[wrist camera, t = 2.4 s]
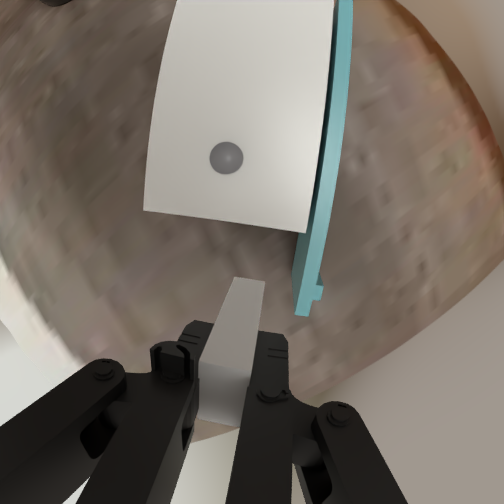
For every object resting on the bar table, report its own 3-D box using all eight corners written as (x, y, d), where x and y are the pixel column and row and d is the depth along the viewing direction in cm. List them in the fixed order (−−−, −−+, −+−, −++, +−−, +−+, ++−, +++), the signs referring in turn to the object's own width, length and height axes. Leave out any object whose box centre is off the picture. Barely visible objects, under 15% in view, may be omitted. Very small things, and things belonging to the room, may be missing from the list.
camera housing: (211, 16, 21) (184, -33, 12) (321, 25, 20) (336, -27, 11) (184, 195, 27) (139, 212, 18) (298, 211, 26) (307, 235, 17)
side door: (325, 31, 20) (339, -11, 12) (343, 34, 20) (363, -5, 12) (291, 273, 27) (294, 314, 20) (309, 276, 27) (318, 317, 20)
